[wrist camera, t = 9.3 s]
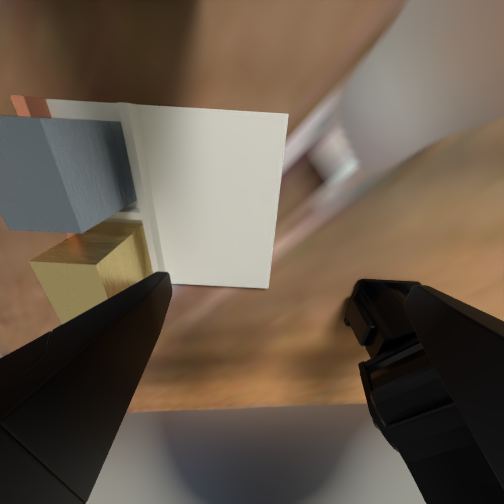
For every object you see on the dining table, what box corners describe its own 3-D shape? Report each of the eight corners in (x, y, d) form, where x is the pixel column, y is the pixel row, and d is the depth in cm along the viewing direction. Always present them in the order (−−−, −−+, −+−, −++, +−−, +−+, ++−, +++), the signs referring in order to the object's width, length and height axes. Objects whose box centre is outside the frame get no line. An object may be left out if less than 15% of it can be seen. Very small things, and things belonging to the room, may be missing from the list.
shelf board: (286, 114, 16) (292, 112, 13) (267, 282, 23) (269, 299, 21) (45, 99, 15) (9, 94, 13) (105, 273, 23) (89, 290, 21)
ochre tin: (143, 223, 19) (95, 265, 13) (154, 275, 22) (118, 328, 16) (95, 220, 19) (26, 261, 13) (112, 273, 22) (60, 325, 16)
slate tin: (120, 121, 15) (39, 118, 9) (137, 200, 18) (81, 233, 12) (59, 117, 15) (-59, 111, 9) (85, 197, 18) (6, 229, 12)
